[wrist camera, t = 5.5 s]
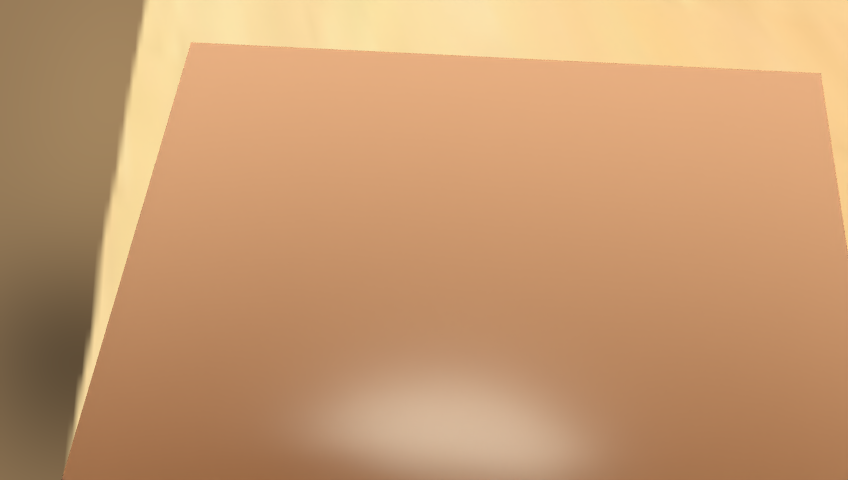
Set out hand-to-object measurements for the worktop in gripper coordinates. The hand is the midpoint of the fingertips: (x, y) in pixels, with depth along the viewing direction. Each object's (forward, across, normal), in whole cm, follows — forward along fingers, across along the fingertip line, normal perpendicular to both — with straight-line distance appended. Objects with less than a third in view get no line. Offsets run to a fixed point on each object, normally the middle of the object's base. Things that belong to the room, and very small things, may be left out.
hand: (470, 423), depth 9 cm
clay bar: (+4, 0, +6) cm, 7 cm away
